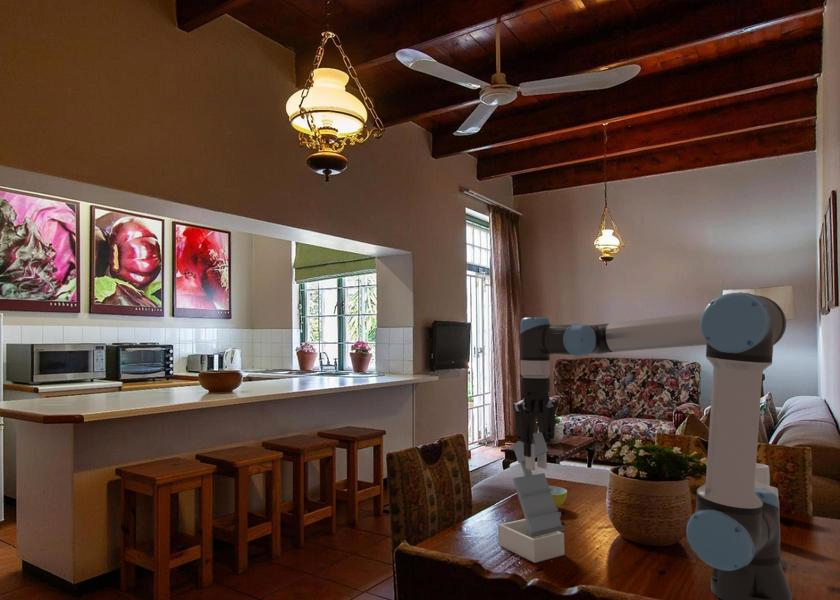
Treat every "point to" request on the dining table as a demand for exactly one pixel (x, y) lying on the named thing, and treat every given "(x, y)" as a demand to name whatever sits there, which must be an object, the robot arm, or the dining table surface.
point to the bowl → (558, 495)
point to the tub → (530, 541)
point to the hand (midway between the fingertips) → (536, 468)
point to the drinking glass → (762, 474)
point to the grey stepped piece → (536, 493)
